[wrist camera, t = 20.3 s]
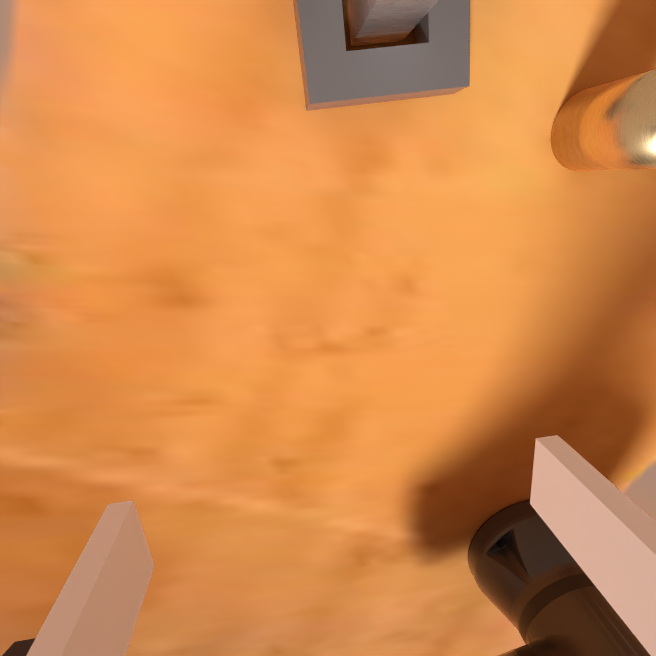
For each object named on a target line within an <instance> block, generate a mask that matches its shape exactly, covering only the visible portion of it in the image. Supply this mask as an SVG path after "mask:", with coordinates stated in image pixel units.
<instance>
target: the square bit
mask: <svg viewBox="0 0 656 656" xmlns="http://www.w3.org/2000/svg"><path fill="white" fill-rule="evenodd" d="M438 1H439V0H347V4H348V16H349V28H350V41H351V46H357V45H366V44H376V43H386V42H395V41H402V40H403V39H404V38H405V37H406V36H407V35H408V34H409V33H410V32H411V30H412V29H413V28H414V27H415V26H416V25H417V24H418V23H419V22H420V21H421V20H422V18H423V17H424V16H425V15H426V14H427V13H428V12H429V11H430V10H431V9H432V8H433V6H434V5H435V4H436V3H437V2H438Z"/></svg>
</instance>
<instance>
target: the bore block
mask: <svg viewBox="0 0 656 656" xmlns="http://www.w3.org/2000/svg"><path fill="white" fill-rule="evenodd" d="M293 3H294V11H295V20H296V28H297V36H298V44H299V52H300V61H301V69H302V77H303V85H304V93H305V102H306V110H307V111H308V110H316V109H325V108H334V107H343V106H351V105H360V104H369V103H377V102H386V101H395V100H403V99H412V98H421V97H429V96H438V95H447V94H454V93H456V92H458V91H460V90H462V89H464V88H466V87H468V86H469V76H470V0H439V1H438V2H437V3H436V4H435V5H434V6H433V8H432V9H431V10H430V11H429V12H428V13H427V14H426V15H425V16H424V17H423V18H422V20H421V21H420V22H419V23H418V24H417V25H416V26H415V44H410V45H401V46H391V47H382V48H372V49H363V50H353V51H346V43H345V31H344V19H343V8H342V0H293Z"/></svg>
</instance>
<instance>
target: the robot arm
mask: <svg viewBox="0 0 656 656" xmlns="http://www.w3.org/2000/svg"><path fill="white" fill-rule="evenodd" d="M468 564H469V568H470V570H471V572H472V574H473V576H474V578H475V580H476V582H477V584H478V586H479V588H480V589H481V591H482V592H483V593H484V594H485V595H486V596H487V597H488V598H489V599H490V600H491V602H492V603H493V604H494V605H495V606H496V607H497V608H498V609H499V610H500V611H501V612H502V613H503V614H504V615H505V616H506V617H507V618H508V619H509V621H510V622H511V623H512V624H513V625H514V626H515V627H516V628H517V629H518V631H519V633H520V634H521V636H522V638H523V640H524V642H525V644H526V645H524V646H522V647H519V648H517V649H513V650H511V651H508V652H506V653H503V654H501V655H498V656H656V522H655V521H654V520H653V519H652V518H651V517H649V516H648V515H647V514H646V513H645V512H644V511H643V510H642V509H641V508H639V507H638V506H637V505H636V504H635V503H634V502H633V501H631V500H630V499H629V498H628V497H627V496H626V495H625V494H624V493H622V492H621V491H620V490H619V489H618V488H617V487H616V486H615V485H613V484H612V483H611V482H610V481H609V480H608V479H607V478H606V477H604V476H603V475H602V474H601V473H600V472H599V471H598V470H597V469H595V468H594V467H593V466H592V465H591V464H590V463H589V462H587V461H586V460H585V459H584V458H583V457H582V456H581V455H580V454H578V453H577V452H576V451H575V450H574V449H573V448H572V447H571V446H569V445H568V444H567V443H566V442H565V441H564V440H563V439H562V438H560V437H559V436H558V435H554V436H547V437H541V438H536V442H535V453H534V464H533V475H532V486H531V497H530V501H525V502H521V503H518V504H515V505H513V506H510V507H508V508H506V509H504V510H502V511H501V512H499V513H497V514H496V515H494V516H493V517H492V518H491V519H489V520H488V521H487V522H486V523H485V524H484V525H483V526H482V527H481V528H480V530H479V531H478V532H477V534H476V535H475V537H474V539H473V541H472V543H471V545H470V548H469V553H468ZM153 570H154V563H153V560H152V557H151V553H150V550H149V547H148V544H147V541H146V538H145V535H144V531H143V528H142V525H141V522H140V519H139V516H138V513H137V509H136V506H135V503H134V500H132V501H125V502H119V503H112V504H108V505H107V507H106V509H105V511H104V513H103V515H102V516H101V518H100V520H99V522H98V524H97V526H96V528H95V529H94V531H93V533H92V535H91V537H90V539H89V541H88V542H87V544H86V546H85V548H84V550H83V552H82V554H81V555H80V557H79V559H78V561H77V563H76V565H75V566H74V568H73V570H72V572H71V574H70V576H69V578H68V579H67V581H66V583H65V585H64V587H63V589H62V591H61V592H60V594H59V596H58V598H57V600H56V602H55V603H54V605H53V607H52V609H51V611H50V613H49V615H48V616H47V618H46V620H45V622H44V624H43V626H42V628H41V629H40V631H39V633H38V635H37V637H36V638H35V639H29V640H23V641H18V642H14V643H13V644H12V646H11V647H10V648H9V649H8V650H7V651H6V652H5V653H4V654H3V655H2V656H125V655H126V652H127V649H128V646H129V643H130V639H131V636H132V633H133V630H134V627H135V624H136V621H137V618H138V615H139V612H140V609H141V606H142V603H143V600H144V597H145V594H146V591H147V588H148V585H149V582H150V579H151V576H152V573H153Z"/></svg>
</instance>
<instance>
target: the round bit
mask: <svg viewBox="0 0 656 656" xmlns="http://www.w3.org/2000/svg"><path fill="white" fill-rule="evenodd" d="M551 146H552V150H553V153H554V155H555V157H556V159H557V160H558V162H559V163H560V164H561V165H563V166H564V167H566V168H568V169H570V170H574V171H591V170H630V169H656V69H654V70H650V71H647V72H643V73H640V74H636V75H633V76H630V77H626V78H623V79H619V80H616V81H612V82H609V83H605V84H602V85H598V86H595V87H591V88H588V89H585V90H582V91H580V92H578V93H576V94H574V95H573V96H571V97H570V98H569V99H568V100H567V101H566V102H565V103H564V104H563V106H562V107H561V108H560V110H559V111H558V113H557V115H556V117H555V120H554V123H553V126H552V131H551Z"/></svg>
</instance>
